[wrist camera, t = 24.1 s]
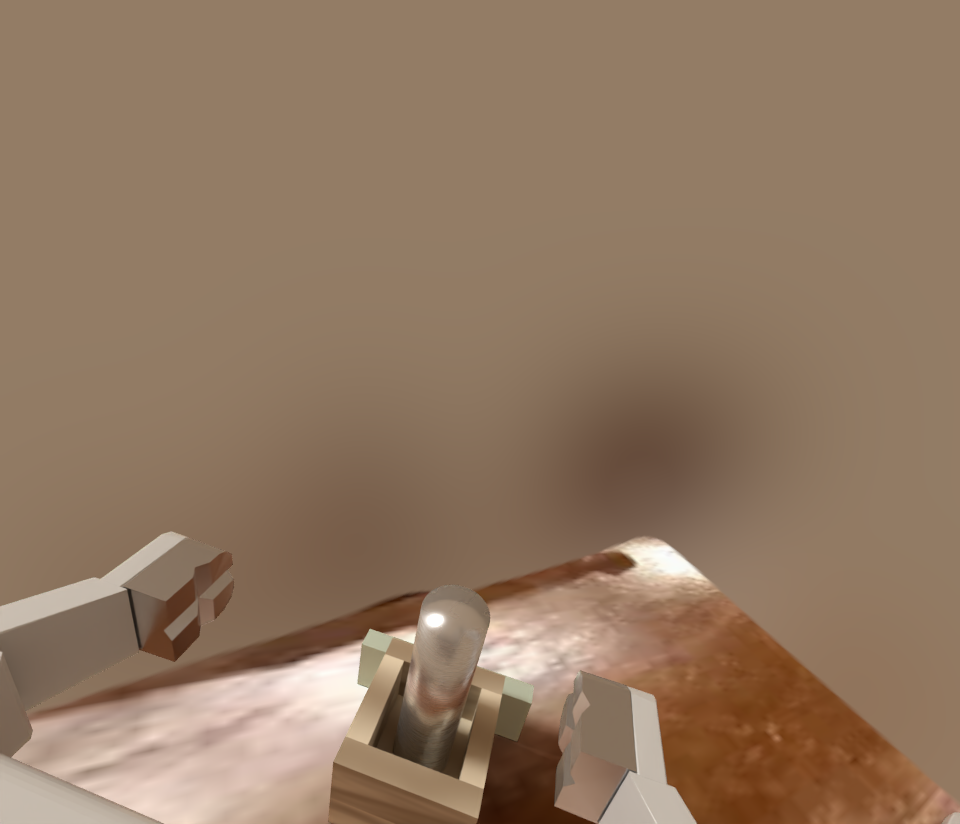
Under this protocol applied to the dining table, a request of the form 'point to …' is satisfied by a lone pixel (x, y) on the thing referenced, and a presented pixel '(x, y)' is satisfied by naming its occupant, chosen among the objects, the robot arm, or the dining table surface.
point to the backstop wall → (514, 691)
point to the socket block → (399, 782)
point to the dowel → (440, 674)
